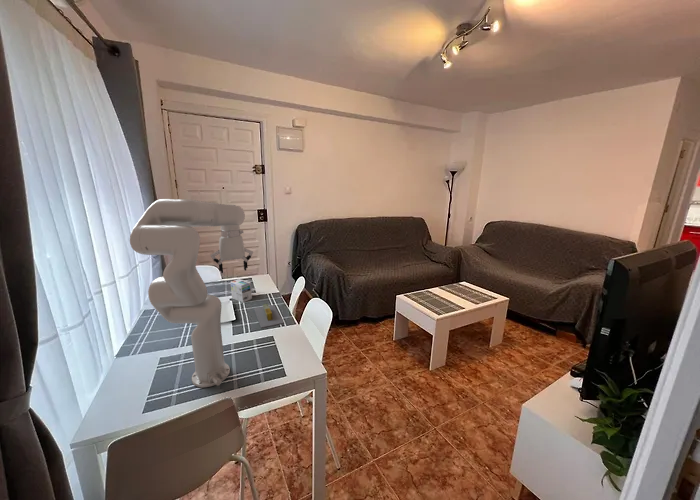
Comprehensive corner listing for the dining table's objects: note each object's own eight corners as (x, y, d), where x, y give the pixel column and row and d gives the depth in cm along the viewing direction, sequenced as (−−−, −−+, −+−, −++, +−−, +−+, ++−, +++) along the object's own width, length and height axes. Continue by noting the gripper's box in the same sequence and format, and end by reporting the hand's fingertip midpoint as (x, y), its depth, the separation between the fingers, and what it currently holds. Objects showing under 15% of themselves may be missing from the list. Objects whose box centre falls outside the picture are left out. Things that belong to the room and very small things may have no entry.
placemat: (283, 323, 140) (283, 322, 140) (261, 328, 135) (260, 327, 135) (274, 305, 159) (274, 304, 159) (253, 309, 154) (253, 308, 154)
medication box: (263, 310, 151) (262, 304, 150) (268, 309, 152) (267, 303, 151) (267, 321, 141) (266, 313, 140) (273, 319, 142) (272, 312, 141)
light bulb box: (252, 298, 167) (251, 282, 164) (242, 303, 161) (241, 285, 159) (240, 294, 172) (239, 278, 170) (231, 298, 167) (229, 281, 164)
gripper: (250, 231, 128) (252, 266, 132) (208, 233, 121) (212, 271, 125) (252, 233, 122) (255, 271, 126) (208, 236, 114) (212, 276, 118)
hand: (233, 271), depth 125 cm, fingers open, 9 cm apart
